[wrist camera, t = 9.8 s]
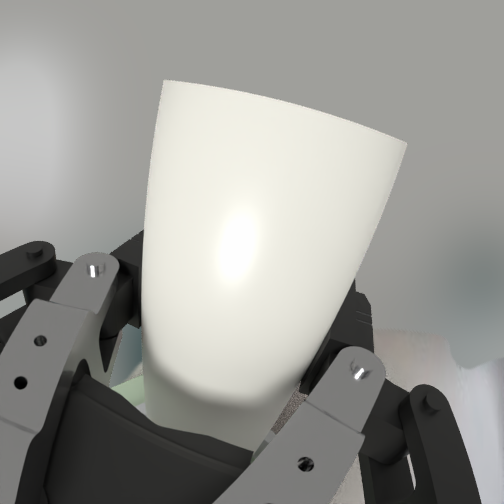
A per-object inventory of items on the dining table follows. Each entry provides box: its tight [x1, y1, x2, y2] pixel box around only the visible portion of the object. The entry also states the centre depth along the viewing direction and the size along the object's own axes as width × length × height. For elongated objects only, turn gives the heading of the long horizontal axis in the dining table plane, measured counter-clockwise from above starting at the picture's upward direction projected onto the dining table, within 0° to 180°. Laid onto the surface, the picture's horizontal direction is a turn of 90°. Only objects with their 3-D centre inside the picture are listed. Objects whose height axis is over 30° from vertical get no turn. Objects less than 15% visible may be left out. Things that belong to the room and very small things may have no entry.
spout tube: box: [141, 80, 407, 455], centre depth 9 cm, size 5×5×14 cm
